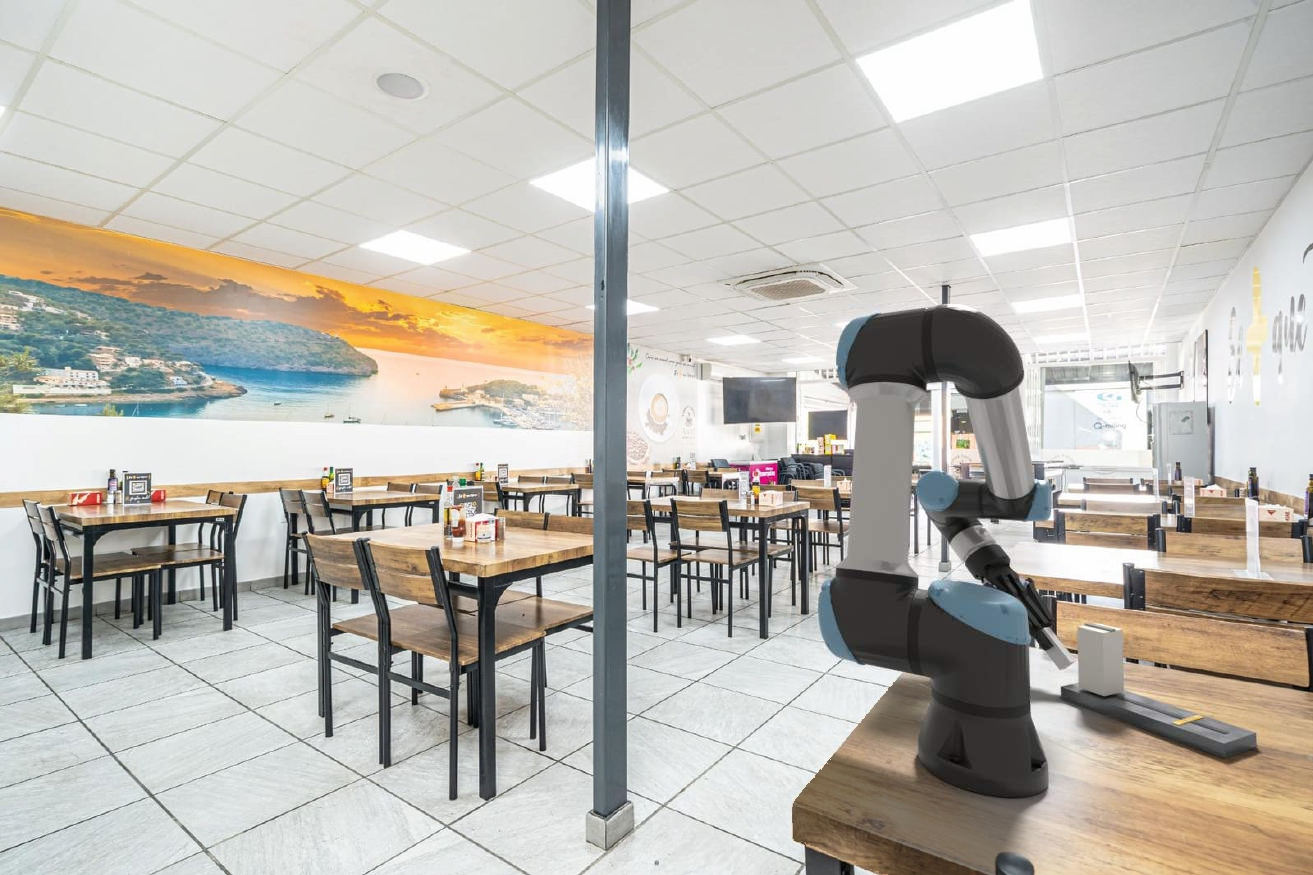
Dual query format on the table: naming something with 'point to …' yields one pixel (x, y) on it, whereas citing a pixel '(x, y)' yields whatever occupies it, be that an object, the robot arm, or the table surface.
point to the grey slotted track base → (1166, 720)
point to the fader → (1100, 659)
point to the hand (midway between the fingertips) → (1067, 665)
